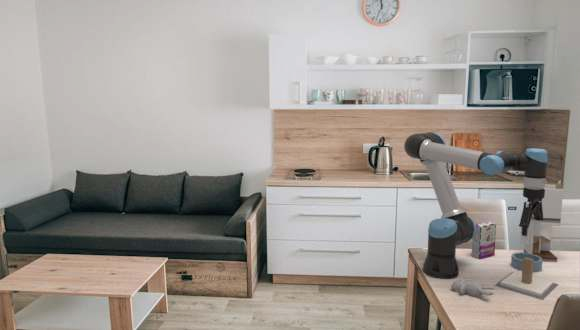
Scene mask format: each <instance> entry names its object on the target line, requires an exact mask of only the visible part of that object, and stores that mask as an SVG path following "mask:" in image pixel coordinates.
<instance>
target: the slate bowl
mask: <svg viewBox="0 0 580 330" xmlns="http://www.w3.org/2000/svg"><path fill="white" fill-rule="evenodd" d="M525 257H528V258H532V259H534V263H533V273H540V272H542V269H543V262H544V261H543V260H542V258H541V257H539V256H537V255H534V254H530V253H524V251H523V252H521V251H520V252H519V251H518V252H513V253H511V259H510V265H511V267H512V268H513V269H515V270H518V271H521V272H522V268H523V259H524V258H525Z"/></svg>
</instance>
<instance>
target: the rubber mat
mask: <svg viewBox="0 0 580 330" xmlns="http://www.w3.org/2000/svg"><path fill="white" fill-rule="evenodd" d="M512 273H513V271H511V273H509V274H508V275H506V276H505V277H504V278H502V279H501V280H499V281H498V282H497V283H495V284H494V285H493V287H498V288H502V289H504V290H507V291H510V292H515V293H516V294H517V293H518V294H520V295H525V296H528V297H532V298H534V299H536V300H537V299H538V300H541V301H543V300H545V299H546V298H547V297H548V295H550V294H551V293H552V292H553V291H554V290H555V289H556V288H557V287H558V286H559V285H560V284H558V283H555V282H553V285H552V286H551V287H550V288H549V289H548V290H547V291H546V292H545V293H544V294H543V295H542V296H541V297H540V296H537V295H533V294H530V293H526V292H523V291H520V290H516V289H513V288H509V287H506V286H502V285H500V282H501V281H503V280H504V279H505V278H507V277H508V276H509V275H511V274H512Z"/></svg>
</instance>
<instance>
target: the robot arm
mask: <svg viewBox="0 0 580 330" xmlns="http://www.w3.org/2000/svg"><path fill="white" fill-rule="evenodd" d="M403 144H404V146H403V148H404V151H405V153H406V155H407V156H408V157H410V158H412V159H416V160H420V161H419V162H420V164H422V165H423V166H425V168H426V171H427V173H428V176H429V179H430V183H431V184H432V187H433V191H434V193H435V196H436V199H437V202H438V205H439V207H440V210H441V212H442V214H441V217H440V218H435V219H433V220H431V221H430V222H429V224H428V229H427V231H428V232H427V234H428V237H427V254H426V257H425V259H424V262H423V265H422V271H423V273H425V275H427V276H430V277H433V278H437V279H441V280H442V279H446V280H447V279H448V280H449V279H455V278H457V277H458V276H459V273H460V269H459V265H458V262H457V258H456V253H457V252H456V250H457V249H456V248H457V246H460V245H462V244H465V243H468V242H469V241H471V240H472V239H473V237H474V236H475V234H476V230H477V229H476V224H477V223H476V222H475V221H474V219H473V218H471V217H470V216H469V215H468V214H467V210H464V209H463V208H461V204H460V202H459V199H458V196H457V194H456V190H455V188H454V185H453V182H452V179H451V176H450V175H449V172H448V169H447V166H446V164H449V165H453V166H459V167H464V168H468V169H471V170H472V169H473V170H478V171H482V172H483V173H484V174H486V175H488V176H489V175H494V176H495V175H498V174H500V173H501V174H502V173H505V172H509V171H513V172H515V171H516V172H523V173H524V175H523V189H522V197H523V198H526V199H527V201H524V202H523V208H522V211H521V212H522V213H521V216H520V221H519V224H518V226H519V228H521V230H520V244H523V245H524V244H528V243H529V230H530V228H529V224H530V221H531V218H532V215H533V216H534V219H536V220H533V230H532V235H534V236H540V228H541V221H540V220H542V221H543V220H544V218H543V209H542V199H543V198H544V197H545V189H543V188H545V185H546V184H547V183H548V181H547V180H546V179H547V169H548V160H549V159H548V151H547V150H546V149H543V148H534V147H533V148H532V147H531V148H527V149H526V150H525V152H517V151H508V150H504V151H501V150H498V151H496V152H495V153H490V152H485V151H480V150H475V149H469V148H465V147H459V146H454V145H449V144H447V143H446V141H445V138H444V137H443V136H442V134H439V133H438V132H431V131H429V132H422V133H414V134H413V133H412V134H411V135H409V136H408V137H407V138H406V139H405V141H404V143H403ZM445 163H446V164H445Z"/></svg>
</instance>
